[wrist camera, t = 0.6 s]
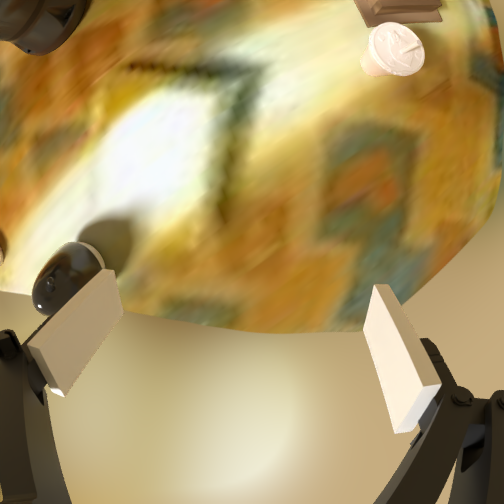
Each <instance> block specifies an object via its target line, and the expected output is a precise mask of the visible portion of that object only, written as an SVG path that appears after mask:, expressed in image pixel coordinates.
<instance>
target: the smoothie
mask: <svg viewBox="0 0 504 504" xmlns="http://www.w3.org/2000/svg"><path fill="white" fill-rule="evenodd" d="M424 60H425V52H424V48H423V45H422V43H421V41H420V39H419V38H418V37H417V35H416V34H415V33H414V32H413V31H412V30H410V29H409V28H407V27H406V26H404V25H402V24H399V23H395V22H386V23H383V24H380V25H379V26H377V27H376V28H375V29H373V30H372V32H371V34H370V36H369V44H368V45H367V47H366V49H365V51H364V53H363V55H362V57H361V59H360V65H361V67H362V69H363V70H364V72H365V73H367V74H368V75H370V76H374V77H378V76H386V75H399V76H408V75H411V74H413V73H415V72H417V71H418V70H420V69H421V67H422V66H423V64H424Z"/></svg>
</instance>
